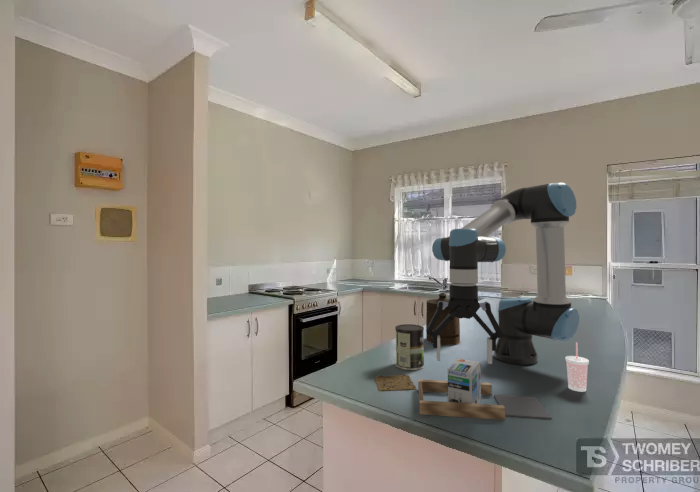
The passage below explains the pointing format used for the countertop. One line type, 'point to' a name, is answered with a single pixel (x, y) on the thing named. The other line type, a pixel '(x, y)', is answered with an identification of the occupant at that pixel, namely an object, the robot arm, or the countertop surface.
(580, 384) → the beverage cup
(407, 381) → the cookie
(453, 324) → the wooden container
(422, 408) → the oak open-sided frame
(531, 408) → the rubber mat
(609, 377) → the countertop surface
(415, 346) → the coffee can
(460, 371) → the light bulb box
